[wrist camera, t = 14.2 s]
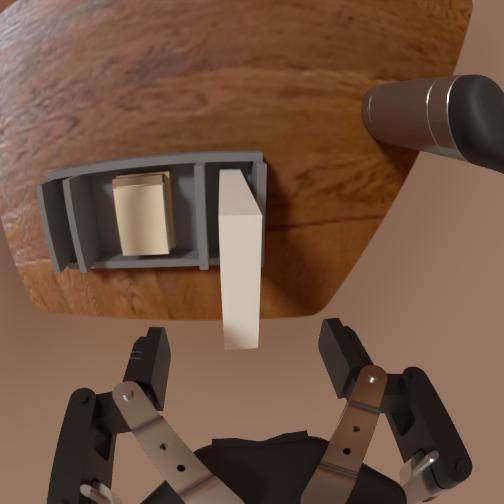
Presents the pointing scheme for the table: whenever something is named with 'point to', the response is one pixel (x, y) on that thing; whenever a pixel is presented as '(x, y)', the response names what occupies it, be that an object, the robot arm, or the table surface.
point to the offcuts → (145, 212)
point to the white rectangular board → (239, 260)
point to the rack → (104, 215)
